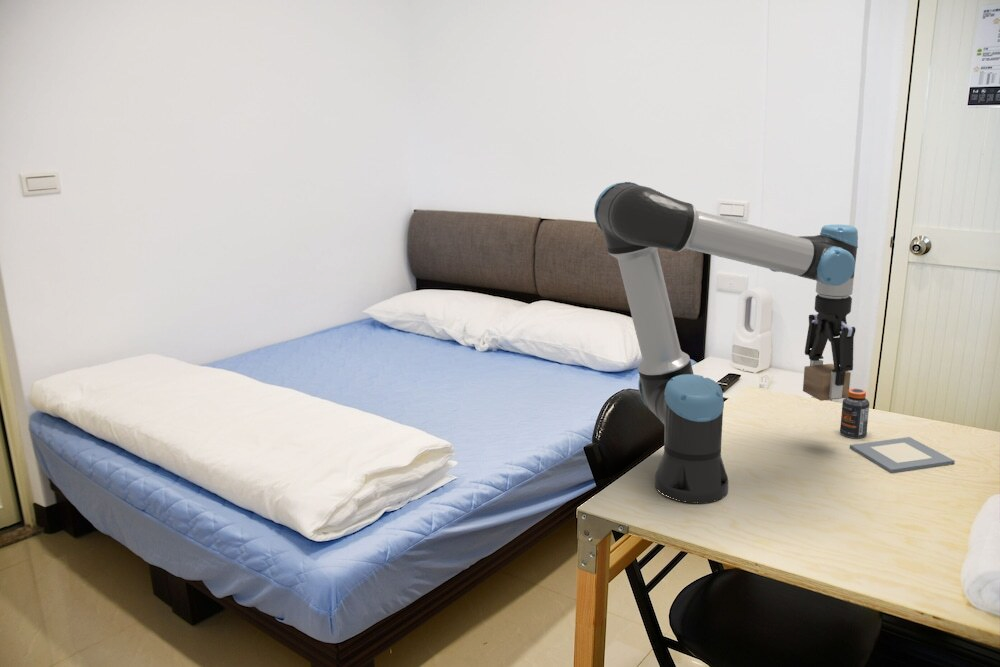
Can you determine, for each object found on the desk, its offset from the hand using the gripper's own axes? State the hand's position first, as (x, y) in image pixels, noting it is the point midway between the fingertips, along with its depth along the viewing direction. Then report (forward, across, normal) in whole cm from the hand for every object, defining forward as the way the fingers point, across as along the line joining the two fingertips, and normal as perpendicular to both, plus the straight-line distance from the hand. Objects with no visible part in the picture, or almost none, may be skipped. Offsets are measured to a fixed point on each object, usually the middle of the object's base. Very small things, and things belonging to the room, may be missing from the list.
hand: (824, 392), depth 179 cm
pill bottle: (+14, +5, -12) cm, 19 cm away
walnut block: (0, 0, 0) cm, 0 cm away
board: (+14, -9, -14) cm, 22 cm away
